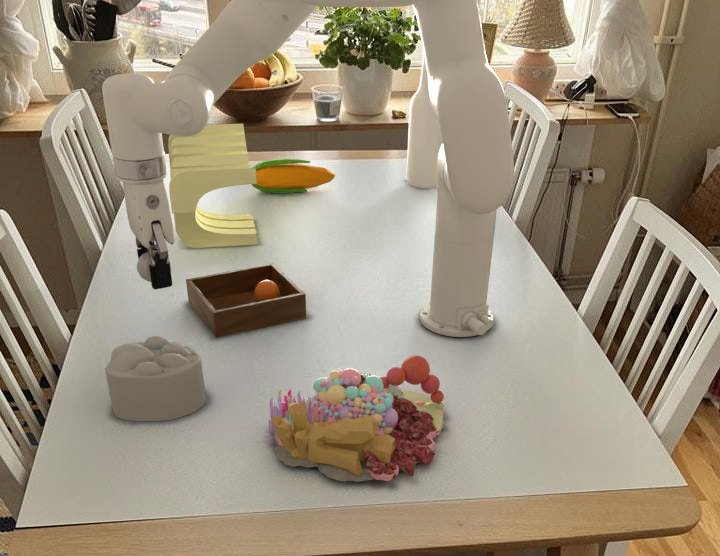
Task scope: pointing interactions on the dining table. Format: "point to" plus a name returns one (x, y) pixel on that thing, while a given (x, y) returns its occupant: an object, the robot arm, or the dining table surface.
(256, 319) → the wooden tray
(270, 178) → the corn
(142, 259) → the garlic
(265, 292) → the mandarin
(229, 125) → the slatted curved stool
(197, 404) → the lumpy-topped squat cylinder
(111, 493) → the dining table surface
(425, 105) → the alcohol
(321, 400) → the colourful coral reef
